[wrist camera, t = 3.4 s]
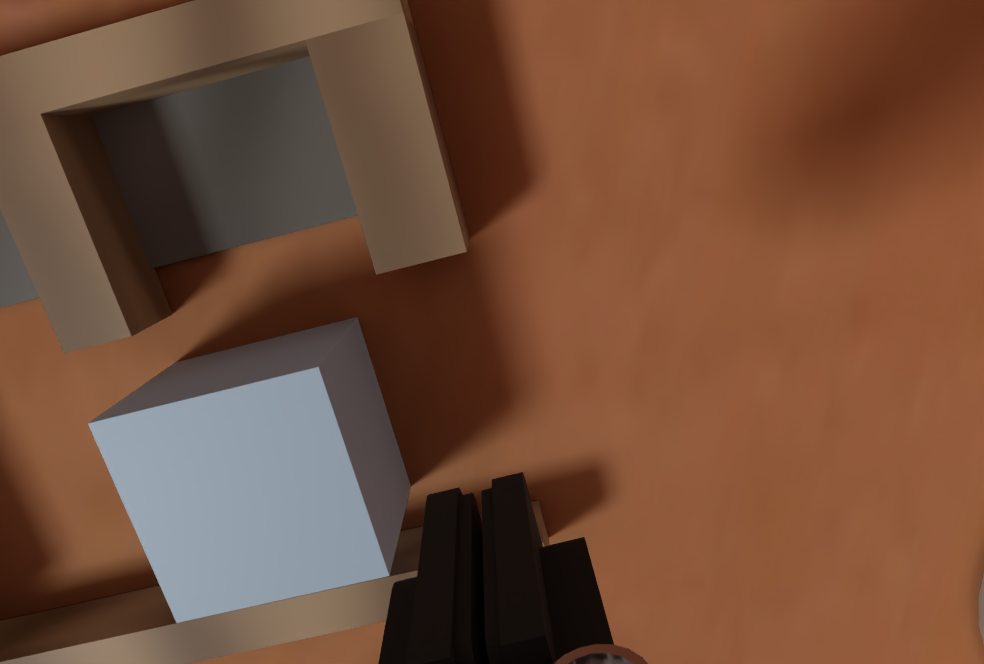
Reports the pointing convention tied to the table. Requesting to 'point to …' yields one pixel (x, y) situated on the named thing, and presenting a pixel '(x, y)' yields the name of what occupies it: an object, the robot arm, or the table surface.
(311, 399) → the block
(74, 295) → the trap lane
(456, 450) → the table surface
